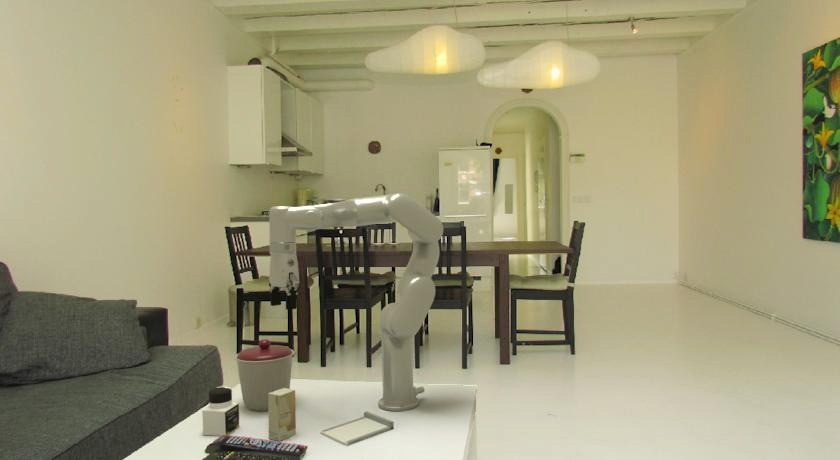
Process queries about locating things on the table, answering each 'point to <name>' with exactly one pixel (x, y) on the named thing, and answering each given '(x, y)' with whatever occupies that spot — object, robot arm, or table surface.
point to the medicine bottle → (220, 413)
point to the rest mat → (358, 429)
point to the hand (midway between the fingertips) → (283, 307)
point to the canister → (263, 372)
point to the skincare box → (281, 414)
